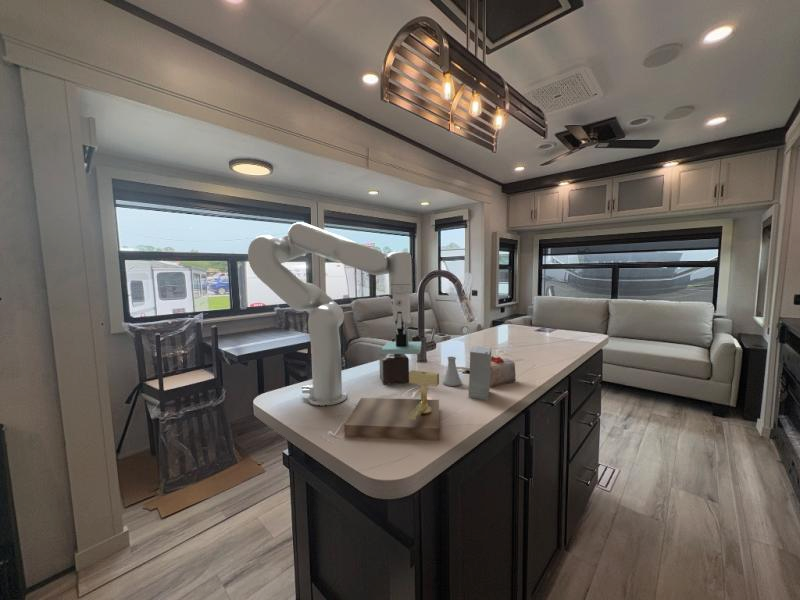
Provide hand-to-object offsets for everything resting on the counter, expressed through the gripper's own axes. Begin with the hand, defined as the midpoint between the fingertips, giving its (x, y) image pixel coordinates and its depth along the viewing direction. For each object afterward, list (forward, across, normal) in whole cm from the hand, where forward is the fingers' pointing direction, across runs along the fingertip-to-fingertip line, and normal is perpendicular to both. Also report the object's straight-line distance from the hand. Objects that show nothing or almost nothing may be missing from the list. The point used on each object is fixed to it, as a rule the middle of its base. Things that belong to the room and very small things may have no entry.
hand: (402, 344), depth 103 cm
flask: (+18, +15, -17) cm, 29 cm away
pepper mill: (+18, +19, +3) cm, 26 cm away
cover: (+2, 0, 0) cm, 2 cm away
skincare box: (+18, +4, -26) cm, 32 cm away
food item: (+18, +17, -34) cm, 42 cm away
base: (+18, -18, 0) cm, 25 cm away
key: (+15, -21, -7) cm, 27 cm away
